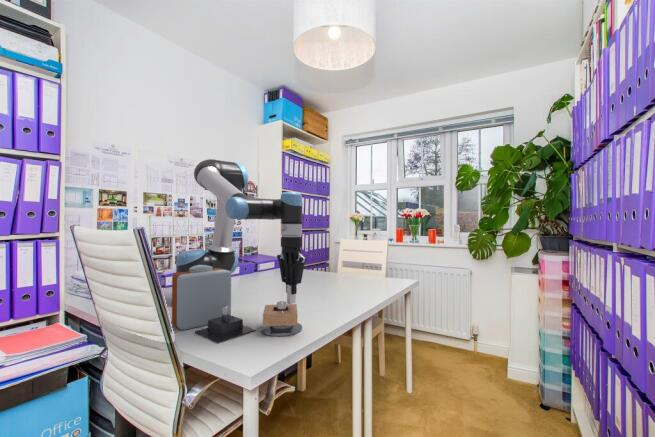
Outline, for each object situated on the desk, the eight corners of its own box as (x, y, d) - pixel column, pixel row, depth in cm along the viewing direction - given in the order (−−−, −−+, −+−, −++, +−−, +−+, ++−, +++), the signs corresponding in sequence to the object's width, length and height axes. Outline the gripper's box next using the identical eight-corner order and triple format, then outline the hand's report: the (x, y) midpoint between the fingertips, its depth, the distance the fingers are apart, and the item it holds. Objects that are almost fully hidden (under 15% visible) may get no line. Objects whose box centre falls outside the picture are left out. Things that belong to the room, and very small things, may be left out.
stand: (194, 332, 103) (194, 306, 103) (231, 322, 113) (231, 298, 114) (217, 343, 94) (217, 315, 94) (255, 331, 104) (255, 305, 105)
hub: (252, 329, 106) (252, 303, 106) (283, 319, 116) (283, 295, 117) (279, 339, 97) (279, 310, 97) (310, 328, 108) (310, 301, 108)
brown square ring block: (265, 316, 111) (265, 304, 111) (296, 315, 112) (296, 303, 112) (262, 326, 100) (263, 314, 100) (297, 325, 101) (297, 312, 102)
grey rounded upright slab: (221, 314, 123) (221, 262, 123) (231, 319, 117) (232, 264, 117) (171, 325, 110) (171, 267, 110) (180, 331, 104) (180, 269, 104)
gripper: (271, 235, 112) (270, 302, 111) (296, 237, 103) (296, 308, 103) (286, 235, 117) (286, 298, 117) (312, 236, 109) (312, 304, 109)
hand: (291, 303), depth 110 cm, fingers closed
